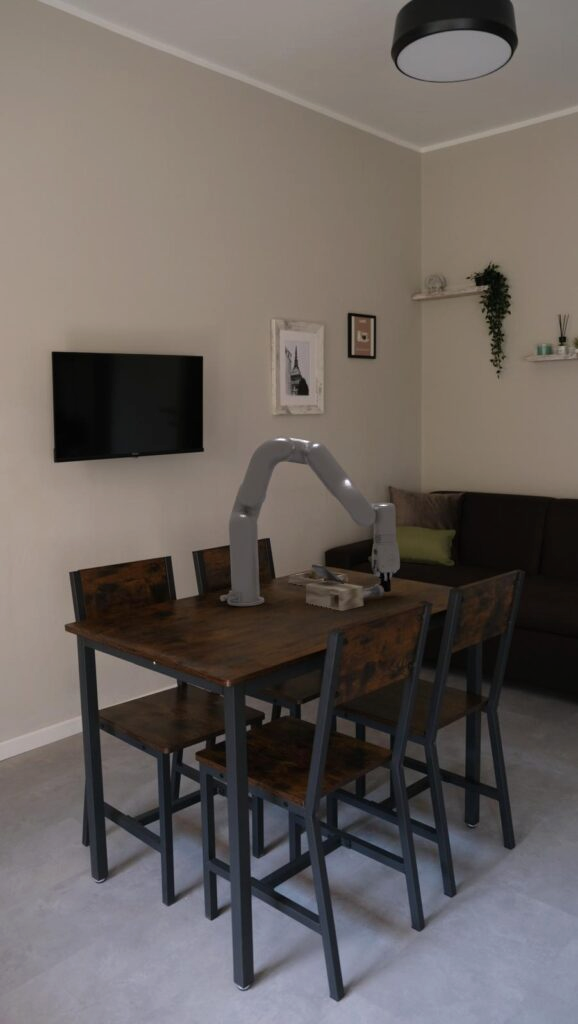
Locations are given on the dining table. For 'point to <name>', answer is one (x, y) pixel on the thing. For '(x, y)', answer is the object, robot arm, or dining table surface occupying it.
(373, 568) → the robot arm
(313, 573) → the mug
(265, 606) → the dining table surface
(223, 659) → the dining table surface
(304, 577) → the coaster frame
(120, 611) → the dining table surface
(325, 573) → the flap
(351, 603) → the block
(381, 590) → the pin
